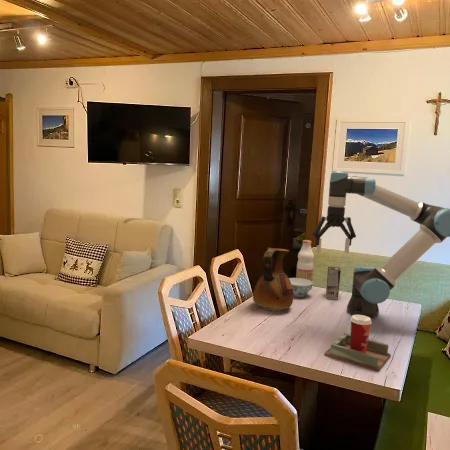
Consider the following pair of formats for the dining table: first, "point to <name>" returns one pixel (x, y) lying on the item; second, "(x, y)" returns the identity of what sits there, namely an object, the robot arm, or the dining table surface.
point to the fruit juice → (305, 262)
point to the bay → (359, 353)
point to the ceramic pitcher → (273, 282)
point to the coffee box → (333, 283)
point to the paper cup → (359, 332)
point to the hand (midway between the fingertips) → (332, 252)
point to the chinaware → (300, 286)
